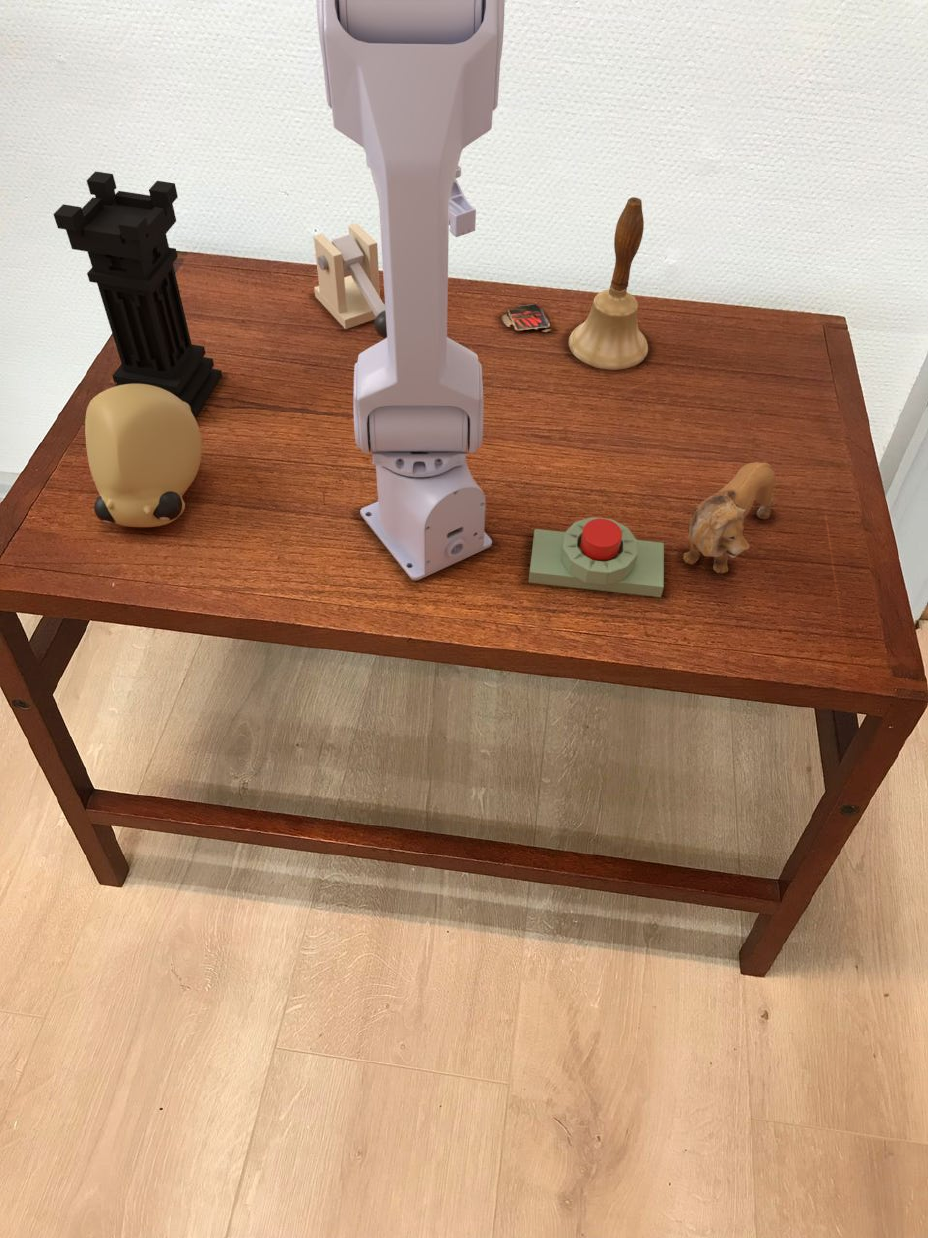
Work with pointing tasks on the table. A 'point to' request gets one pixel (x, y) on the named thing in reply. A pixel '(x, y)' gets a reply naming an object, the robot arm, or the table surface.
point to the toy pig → (141, 454)
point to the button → (601, 539)
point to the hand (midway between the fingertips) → (420, 272)
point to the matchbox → (526, 318)
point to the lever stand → (345, 279)
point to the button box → (597, 563)
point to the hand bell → (615, 306)
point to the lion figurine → (729, 515)
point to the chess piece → (140, 286)
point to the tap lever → (361, 279)
